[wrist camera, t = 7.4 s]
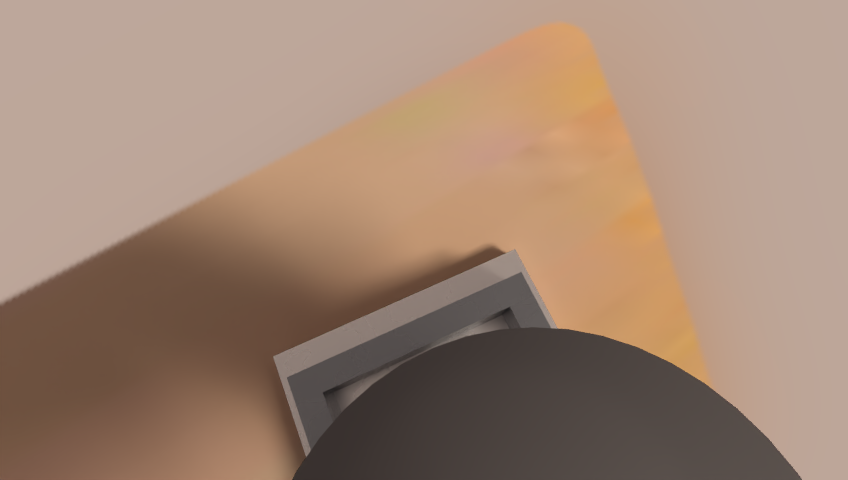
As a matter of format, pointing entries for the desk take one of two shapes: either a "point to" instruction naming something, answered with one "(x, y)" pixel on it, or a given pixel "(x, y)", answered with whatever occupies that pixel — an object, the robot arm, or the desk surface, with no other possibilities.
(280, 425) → the desk surface
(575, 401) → the grey domed cylinder
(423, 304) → the square tray
